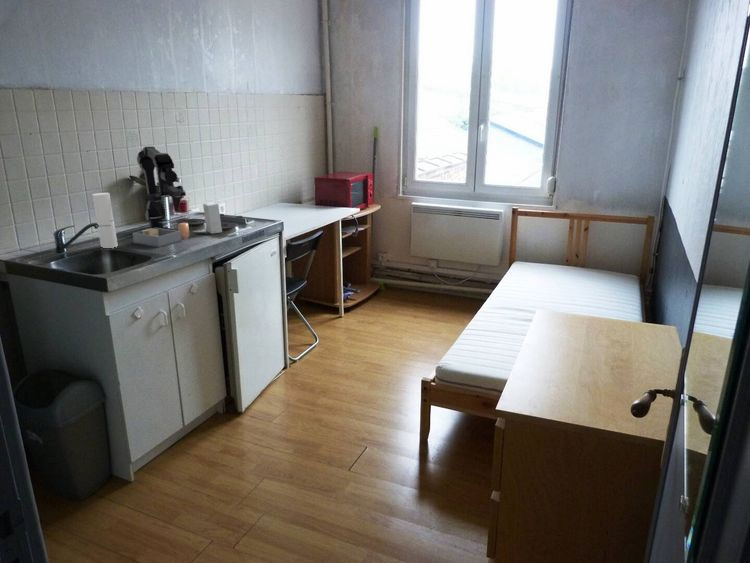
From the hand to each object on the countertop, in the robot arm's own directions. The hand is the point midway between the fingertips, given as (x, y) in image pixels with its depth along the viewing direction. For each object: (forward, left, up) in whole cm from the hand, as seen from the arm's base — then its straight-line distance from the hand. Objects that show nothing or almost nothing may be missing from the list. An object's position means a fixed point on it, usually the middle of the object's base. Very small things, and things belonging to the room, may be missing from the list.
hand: (168, 212), depth 275 cm
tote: (-1, -8, -13) cm, 15 cm away
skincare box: (+7, +21, -13) cm, 26 cm away
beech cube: (-5, -8, -13) cm, 16 cm away
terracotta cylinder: (+3, +5, -13) cm, 14 cm away
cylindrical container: (-14, -25, -13) cm, 31 cm away
